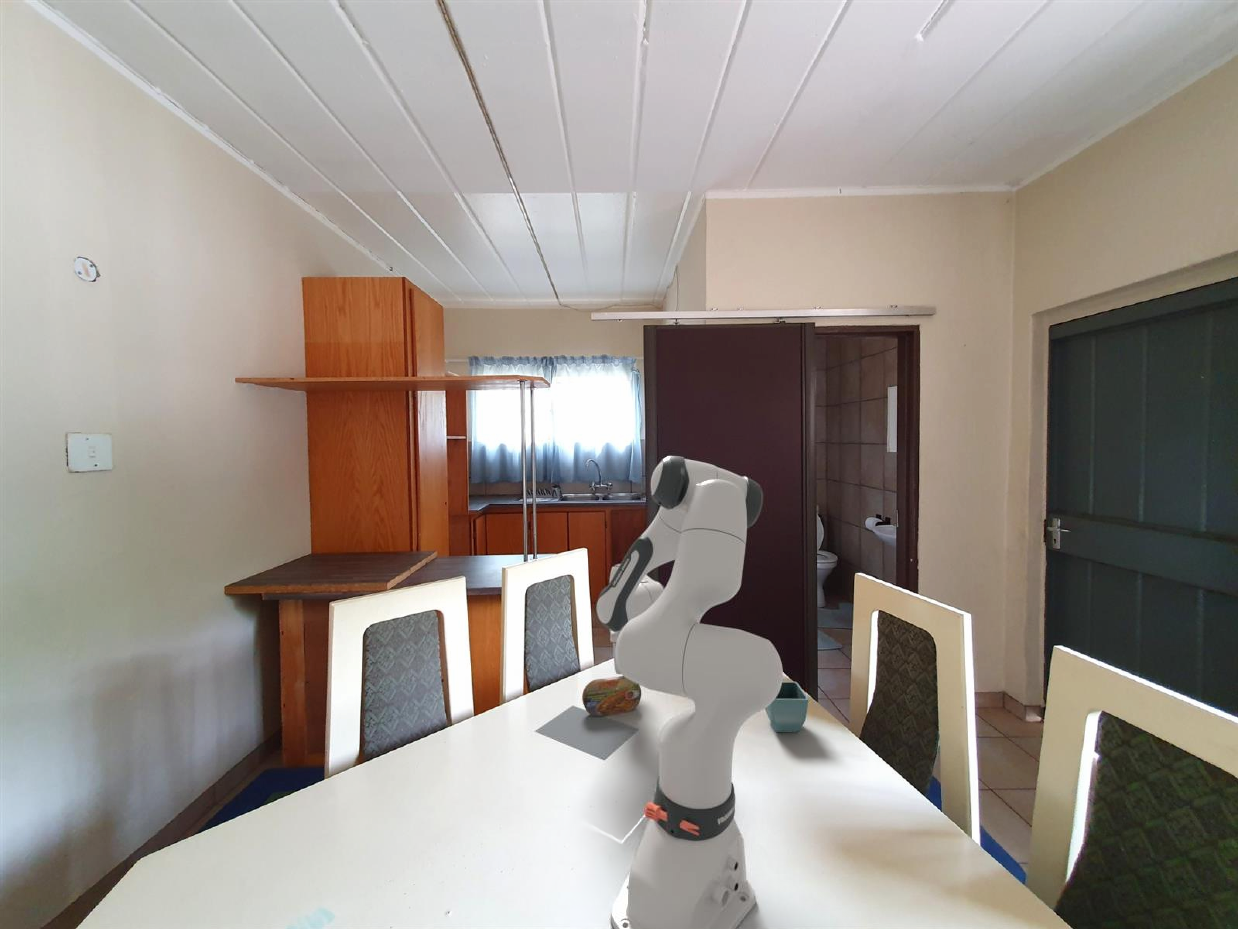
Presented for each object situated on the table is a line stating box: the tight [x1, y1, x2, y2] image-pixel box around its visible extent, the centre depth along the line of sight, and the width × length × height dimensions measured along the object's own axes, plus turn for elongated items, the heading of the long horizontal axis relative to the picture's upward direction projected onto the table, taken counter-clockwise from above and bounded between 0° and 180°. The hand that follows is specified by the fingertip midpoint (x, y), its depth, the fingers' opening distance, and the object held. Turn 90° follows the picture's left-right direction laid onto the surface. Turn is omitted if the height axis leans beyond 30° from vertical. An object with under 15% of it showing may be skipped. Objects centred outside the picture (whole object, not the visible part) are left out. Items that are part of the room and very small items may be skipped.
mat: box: [534, 705, 640, 761], centre depth 117 cm, size 14×20×1 cm
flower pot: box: [764, 681, 810, 733], centre depth 118 cm, size 9×9×9 cm
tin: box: [581, 675, 642, 717], centre depth 125 cm, size 15×3×8 cm, turn 108°
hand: (626, 676), depth 131 cm, fingers closed
